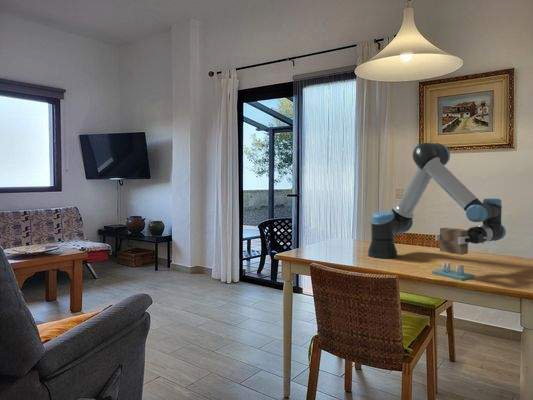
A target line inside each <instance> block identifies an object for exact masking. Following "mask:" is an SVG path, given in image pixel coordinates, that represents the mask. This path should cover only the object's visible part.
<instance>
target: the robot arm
mask: <svg viewBox="0 0 533 400" xmlns="http://www.w3.org/2000/svg"><path fill="white" fill-rule="evenodd" d="M450 152H451V151H450V150H449V148H448V147H447V146H446V145H445V144H442V143H440V142H435V143H434V142H421V143H419V144H418V145H416V146H415V147H414V149H413V151H412V160H413V162H414V163H415V165H416V166H417V168H416V170H415V172H414V174H413V176H412V178H411V180H410V181H409V183H408V185H407V187H406V189H405V190H404V192H403V194H402V196H401V198H400V200H399V202H398V204H397V205H394V206H393V208H392V209H391V210H390V211H388V210H382V211H376V212H374V213H372V214H371V218H370V224H371V226H370V229H371V234H370V235H371V236H370V237H371V239H370V243H369V247H368V250H367V256H368V257H371V258H376V259H377V258H378V259H391V258H393V259H394V258H397V257H398V250H397V248H396V245H395V244H396V243H395V235H398V234H404V233H407V232H408V231H410V230H411V229H412V227H413V223H414V221H413V219H414V210H415V209H416V207H417V205H418V203H419V202H420V199H421V197H422V196H423V193H424V192H425V190H426V189H427V186H428V185H429V184H430V181H431V179H433V180H434V181H435V183H437V184H438V185H439V186H440V187H441V188H442V189H443V190H444V191H445V192H446V193H447V195H448V196H450V197H451V198H452V199H453V201H455V202H456V204H458V206H460V208H461V209H463V211H464V212H465V215H466V218H467V219H468V220H469V221H470V222H472V223H482V225H476V226H472V227H471V226H470V227H469V228H468V229H467V230H468V236H465V237H459V238H458V244H465V243H468V244H469V243H471V244H475V245H476V244H485V243H487V242H495V241H499V240H502V239H503V238H505V236H506V235H507V231H506V230H507V229H506V228H505V226H504V225H503V224H502V210H503V206H502V205H503V204H502V200H501V199H500V198H484V199H483V200H482V201H481V200H480V199H479V198H478V197H477V196H476V195H475V194H474V193H473V192H472V191H471V190H469V188H468V187H466V185H464V183H463V182H461V181H460V180H459V179H458V178H457V177H456V176H455V175H454V174H453V173H452V172H451V171H450V170H449V169H448V168H447V167H446V166H445V165H447V164H448V163H449V161H450V157H451V153H450ZM434 240H435V241H436V242H440V233H436V234H435V239H434Z"/></svg>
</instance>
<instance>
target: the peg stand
mask: <svg viewBox="0 0 533 400" xmlns="http://www.w3.org/2000/svg"><path fill="white" fill-rule="evenodd" d="M431 274H433V275H438V276H442V277H446V278H449V279H453V280H458V281H464V280H468V279H473V278H476V275H475V274H473V273H467V272H465V265H459V266H457V265H456V266H455V270H453V269H451V263H450V262H446V263H442V268H440V269H437V270H432V271H431Z"/></svg>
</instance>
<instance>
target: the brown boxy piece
mask: <svg viewBox="0 0 533 400" xmlns="http://www.w3.org/2000/svg"><path fill="white" fill-rule="evenodd" d="M439 234H440V241H439V252H442V253H449V254H455V255H460V256H463V255H468V253H469V243H465V244H458V238H459V237H465V236H468V229H465V228H464V229H463V228H454V227H453V228H452V227H440V228H439Z"/></svg>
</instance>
